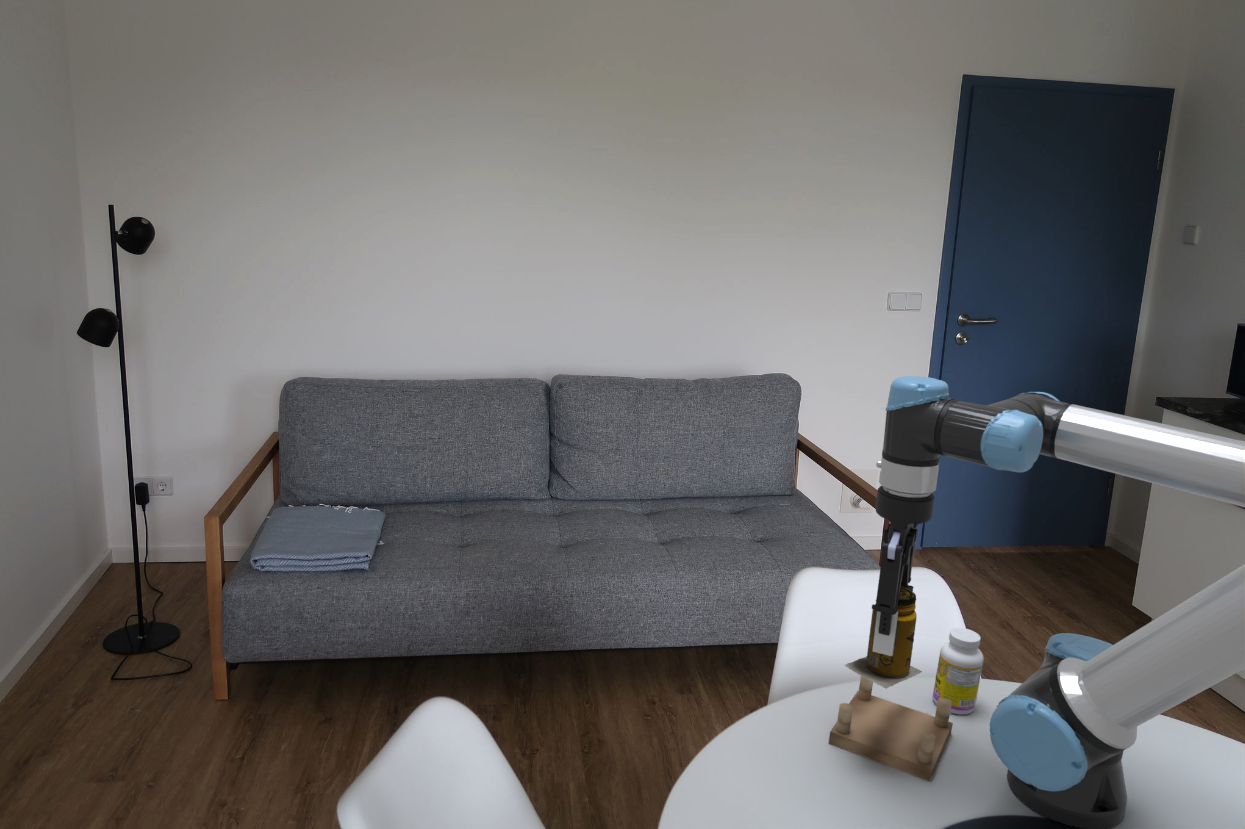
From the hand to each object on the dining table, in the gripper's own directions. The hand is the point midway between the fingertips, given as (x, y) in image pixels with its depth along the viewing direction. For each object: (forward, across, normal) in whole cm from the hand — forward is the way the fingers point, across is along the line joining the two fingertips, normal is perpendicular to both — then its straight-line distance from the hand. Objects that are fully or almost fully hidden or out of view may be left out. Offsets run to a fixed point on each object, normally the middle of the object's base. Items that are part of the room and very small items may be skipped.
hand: (887, 642), depth 127 cm
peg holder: (+18, -6, +1) cm, 19 cm away
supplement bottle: (+19, -21, +8) cm, 29 cm away
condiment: (+4, +1, 0) cm, 4 cm away
